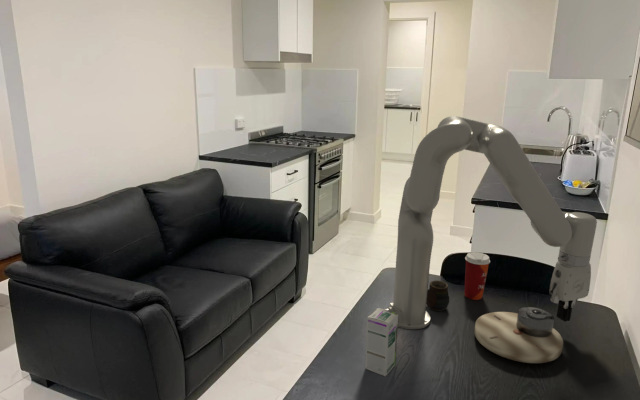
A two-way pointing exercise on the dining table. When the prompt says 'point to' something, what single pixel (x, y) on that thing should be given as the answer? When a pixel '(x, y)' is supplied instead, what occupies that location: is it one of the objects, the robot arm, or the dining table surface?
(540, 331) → the cover
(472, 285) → the paper cup
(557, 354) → the turntable
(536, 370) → the dining table surface
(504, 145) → the robot arm
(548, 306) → the dining table surface
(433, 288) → the mate gourd
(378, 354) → the syrup box
